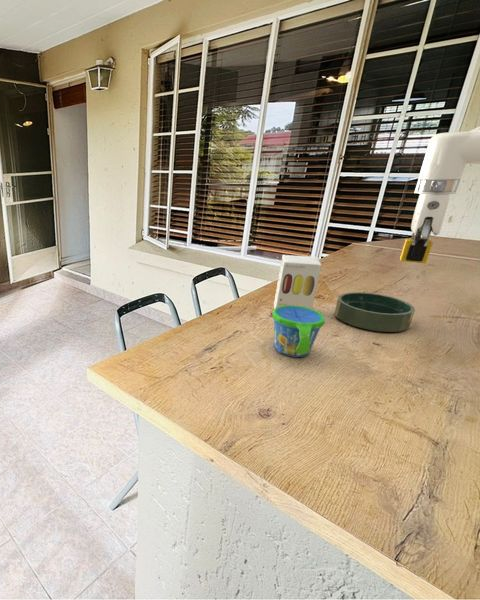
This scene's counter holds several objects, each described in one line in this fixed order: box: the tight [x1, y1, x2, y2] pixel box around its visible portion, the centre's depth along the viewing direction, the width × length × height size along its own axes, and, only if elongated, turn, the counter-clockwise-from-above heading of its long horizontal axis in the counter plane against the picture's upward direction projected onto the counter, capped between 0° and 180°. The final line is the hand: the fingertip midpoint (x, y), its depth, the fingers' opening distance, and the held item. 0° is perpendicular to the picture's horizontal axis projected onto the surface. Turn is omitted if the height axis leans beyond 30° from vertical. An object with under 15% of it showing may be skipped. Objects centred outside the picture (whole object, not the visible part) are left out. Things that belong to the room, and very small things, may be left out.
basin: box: [333, 291, 416, 333], centre depth 98 cm, size 17×17×6 cm
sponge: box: [399, 238, 434, 264], centre depth 92 cm, size 5×3×6 cm, turn 52°
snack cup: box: [272, 306, 326, 358], centre depth 85 cm, size 16×10×10 cm
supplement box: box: [273, 254, 322, 310], centre depth 104 cm, size 10×9×17 cm
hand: (413, 258), depth 93 cm, fingers closed on sponge, 3 cm apart
